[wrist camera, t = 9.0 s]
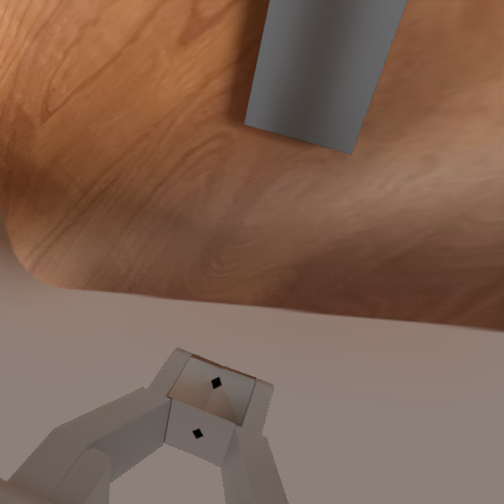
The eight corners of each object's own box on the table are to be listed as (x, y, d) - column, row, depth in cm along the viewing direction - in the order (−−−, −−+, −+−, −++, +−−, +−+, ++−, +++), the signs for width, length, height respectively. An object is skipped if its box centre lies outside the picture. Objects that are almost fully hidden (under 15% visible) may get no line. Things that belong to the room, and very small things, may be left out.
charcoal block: (407, -18, 22) (426, -52, 16) (350, 141, 26) (351, 154, 21) (300, -41, 22) (286, -82, 17) (263, 117, 27) (244, 124, 22)
